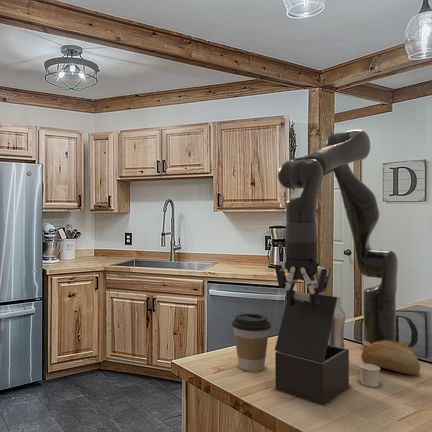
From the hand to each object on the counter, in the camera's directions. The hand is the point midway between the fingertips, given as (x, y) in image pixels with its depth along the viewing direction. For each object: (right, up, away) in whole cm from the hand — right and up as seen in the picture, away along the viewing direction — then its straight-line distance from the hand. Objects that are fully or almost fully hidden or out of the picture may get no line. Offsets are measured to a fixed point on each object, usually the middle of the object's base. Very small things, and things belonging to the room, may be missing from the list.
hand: (301, 306), depth 109 cm
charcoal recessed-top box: (+4, -22, +4) cm, 23 cm away
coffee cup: (-8, -22, +19) cm, 31 cm away
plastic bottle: (+18, -22, +22) cm, 36 cm away
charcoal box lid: (+2, -5, +2) cm, 6 cm away
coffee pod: (+21, -22, +7) cm, 31 cm away
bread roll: (+32, -22, +17) cm, 42 cm away
